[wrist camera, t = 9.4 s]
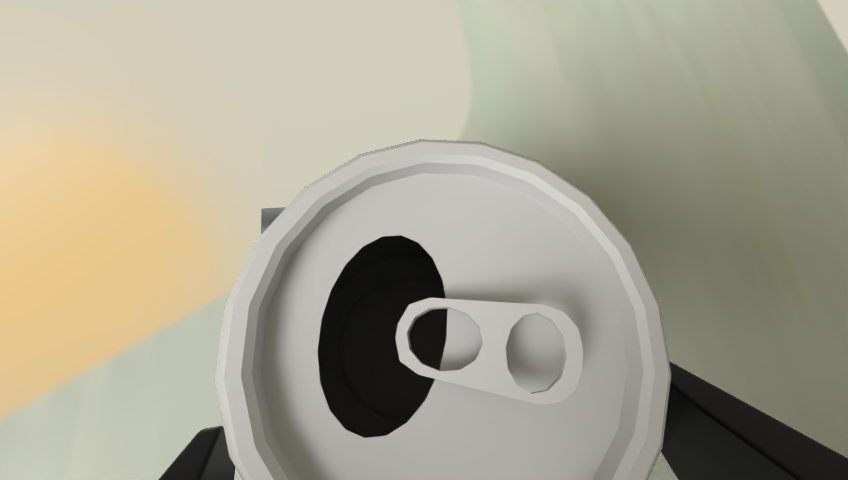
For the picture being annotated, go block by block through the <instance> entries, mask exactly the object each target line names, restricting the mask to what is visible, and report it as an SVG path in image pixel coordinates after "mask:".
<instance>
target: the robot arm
mask: <svg viewBox="0 0 848 480" xmlns="http://www.w3.org/2000/svg"><path fill="white" fill-rule="evenodd" d="M669 364H670V370H671V382H670V390H669V398H668V406H667V414H666V422H665V431H664V439H663V447H662V450H661V452H662V454H663V456H664V457H665V459H666V461H667V462H668V464H669V466H670V467H671V469H672V470H673V472H674V473H675V475H676V477H677V478H678V480H848V458H846V457H844V456H842V455H840V454H839V453H837V452H835V451H833V450H831V449H829V448H828V447H826V446H824V445H822V444H820V443H818V442H816V441H815V440H813V439H811V438H809V437H807V436H805V435H804V434H802V433H800V432H798V431H796V430H794V429H793V428H791V427H789V426H787V425H785V424H783V423H782V422H780V421H778V420H776V419H774V418H772V417H771V416H769V415H767V414H765V413H763V412H761V411H760V410H758V409H756V408H754V407H752V406H750V405H749V404H747V403H745V402H743V401H741V400H739V399H737V398H736V397H734V396H732V395H730V394H728V393H726V392H725V391H723V390H721V389H719V388H717V387H715V386H714V385H712V384H710V383H708V382H706V381H704V380H703V379H701V378H699V377H697V376H695V375H693V374H692V373H690V372H688V371H686V370H684V369H682V368H681V367H679V366H677V365H675V364H673V363H671V362H670V361H669ZM234 474H235V465H234V464H233V462H232V460H231V458H230V457H229V453H228V447H227V442H226V436H225V431H224V427H223V426H217V427H211V428H205V429H203V430H201V431H200V432H198V433H197V434H196V436H195V437H194V438H193V439H192V440H191V442H190V443H189V444H188V445H187V446H186V448H185V449H184V450H183V451H182V452H181V453H180V455H179V456H178V457H177V458H176V459H175V461H174V462H173V463H172V464H171V465H170V467H169V468H168V469H167V470H166V471H165V473H164V474H163V475H162V476H161V477H160V478H159V480H234Z"/></svg>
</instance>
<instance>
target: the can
mask: <svg viewBox="0 0 848 480" xmlns="http://www.w3.org/2000/svg"><path fill="white" fill-rule="evenodd" d="M670 382H671V370H670V364H669V358H668V352H667V346H666V340H665V334H664V328H663V322H662V316H661V310H660V305H659V303H658V301H657V298H656V296H655V294H654V292H653V290H652V288H651V286H650V284H649V281H648V279H647V277H646V275H645V273H644V271H643V269H642V267H641V264H640V262H639V260H638V258H637V256H636V254H635V252H634V250H633V247H632V245H631V244H630V243H629V241H628V240H627V239H626V238H625V237H624V236H623V234H622V233H621V232H620V231H619V230H618V229H617V227H616V226H615V225H614V224H613V223H612V222H611V220H610V219H609V218H608V217H607V216H606V215H605V213H604V212H603V211H602V210H601V209H600V208H599V206H598V205H597V204H596V203H595V202H594V201H593V199H592V198H591V197H590V196H589V195H587V194H586V193H584V192H583V191H582V190H580V189H579V188H577V187H576V186H574V185H573V184H571V183H570V182H568V181H567V180H565V179H564V178H562V177H561V176H559V175H558V174H556V173H555V172H553V171H552V170H550V169H549V168H548V167H546V166H545V165H543V164H542V163H540V162H539V161H536V160H533V159H530V158H527V157H524V156H521V155H518V154H515V153H512V152H509V151H506V150H503V149H500V148H497V147H494V146H491V145H488V144H485V143H482V142H470V141H447V140H424V139H423V140H422V139H419V140H416V141H411V142H407V143H404V144H399V145H395V146H391V147H387V148H384V149H380V150H375V151H371V152H367V153H363V154H360V155H358V156H356V157H355V158H353V159H351V160H350V161H348V162H346V163H344V164H343V165H341V166H339V167H338V168H336V169H334V170H333V171H331V172H329V173H328V174H326V175H324V176H323V177H321V178H319V179H317V180H316V181H314V182H312V183H311V184H309V185H308V186H306V187H304V189H303V190H302V191H301V192H300V193H299V194H298V195H297V196H296V197H295V198H294V200H293V201H292V202H291V203H290V204H289V205H288V206H287V207H286V208H285V209H284V210H283V212H282V213H281V214H280V215H279V216H278V217H277V218H276V219H275V220H274V221H273V223H272V224H271V225H270V226H269V227H268V228H267V229H266V230H265V231H264V232H263V233H262V235H261V236H260V237H259V239H258V240H257V241H256V242H255V243H254V245H253V248H252V250H251V252H250V254H249V256H248V258H247V260H246V262H245V265H244V267H243V269H242V271H241V273H240V275H239V277H238V279H237V282H236V284H235V286H234V288H233V290H232V292H231V294H230V296H229V299H228V301H227V303H226V305H225V309H224V316H223V323H222V331H221V338H220V346H219V353H218V361H217V368H216V376H215V383H216V388H217V393H218V399H219V404H220V409H221V415H222V420H223V426H224V431H225V436H226V442H227V447H228V453H229V457H230V458H231V460H232V462H233V464H234V465H235V467H236V469H237V471H238V472H239V474H240V476H241V478H242V479H243V480H648V478H649V476H650V474H651V472H652V469H653V467H654V465H655V463H656V461H657V459H658V456H659V454H660V452H661V450H662V447H663V439H664V431H665V422H666V414H667V406H668V398H669V390H670Z"/></svg>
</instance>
